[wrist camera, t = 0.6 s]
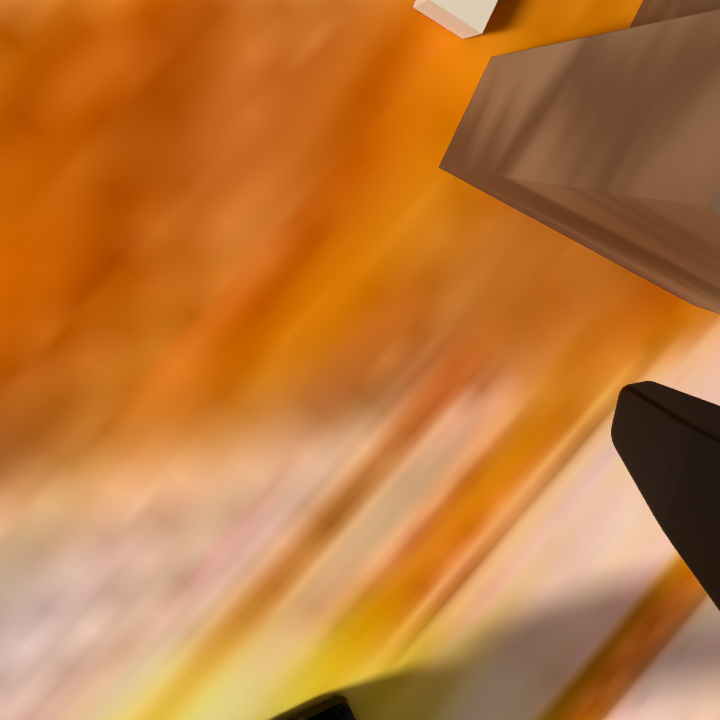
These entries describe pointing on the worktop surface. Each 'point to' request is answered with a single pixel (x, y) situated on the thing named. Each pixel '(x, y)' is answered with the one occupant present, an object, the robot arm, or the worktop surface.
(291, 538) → the worktop surface
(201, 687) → the worktop surface
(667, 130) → the t block
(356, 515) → the worktop surface
